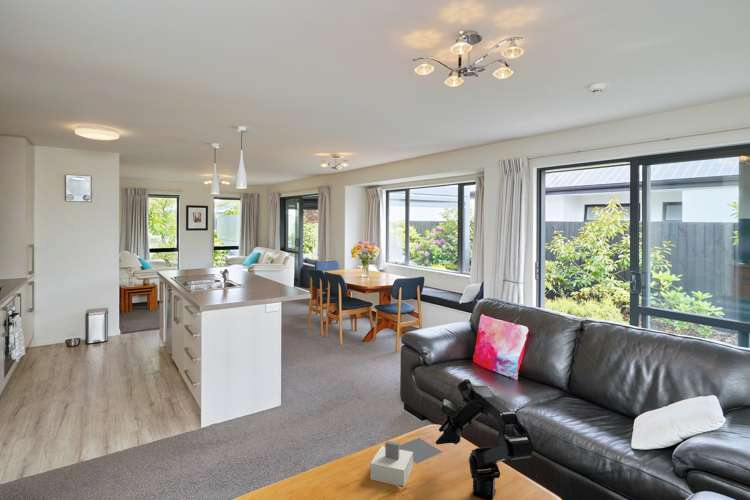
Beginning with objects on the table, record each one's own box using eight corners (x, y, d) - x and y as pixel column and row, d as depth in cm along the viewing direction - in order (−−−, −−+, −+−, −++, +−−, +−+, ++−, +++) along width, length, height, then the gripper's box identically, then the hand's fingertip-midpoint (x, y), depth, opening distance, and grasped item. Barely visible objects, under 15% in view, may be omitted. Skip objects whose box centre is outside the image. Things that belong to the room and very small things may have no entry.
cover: (412, 467, 154) (413, 438, 153) (403, 486, 142) (404, 455, 141) (381, 460, 158) (381, 432, 157) (370, 479, 146) (370, 448, 146)
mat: (442, 452, 164) (442, 451, 164) (416, 464, 156) (416, 463, 156) (418, 438, 175) (418, 437, 175) (393, 448, 167) (394, 447, 167)
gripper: (455, 385, 156) (426, 409, 160) (450, 405, 138) (418, 432, 142) (475, 407, 155) (446, 431, 158) (473, 431, 137) (440, 457, 141)
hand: (437, 436), depth 150 cm, fingers open, 9 cm apart
